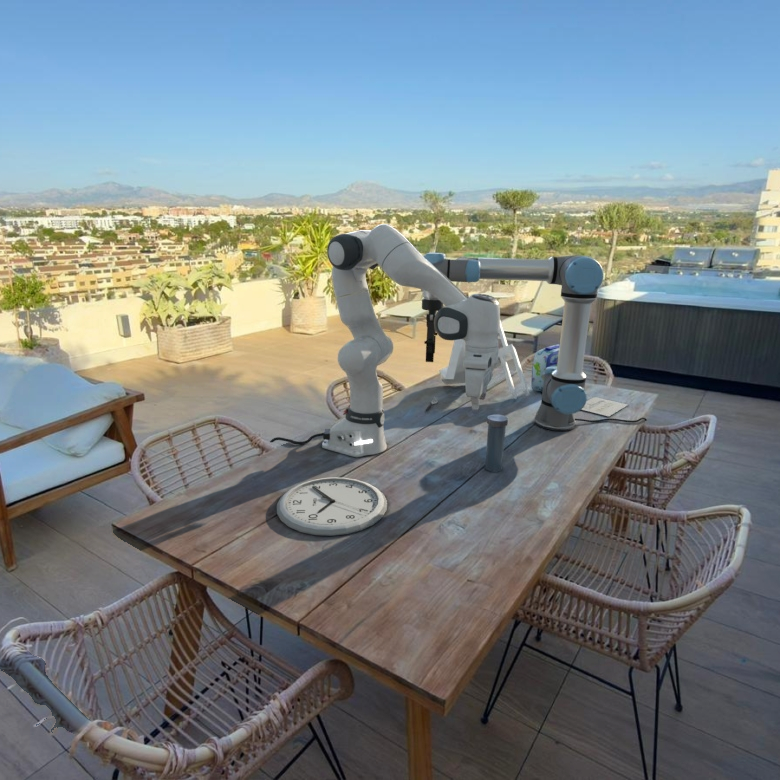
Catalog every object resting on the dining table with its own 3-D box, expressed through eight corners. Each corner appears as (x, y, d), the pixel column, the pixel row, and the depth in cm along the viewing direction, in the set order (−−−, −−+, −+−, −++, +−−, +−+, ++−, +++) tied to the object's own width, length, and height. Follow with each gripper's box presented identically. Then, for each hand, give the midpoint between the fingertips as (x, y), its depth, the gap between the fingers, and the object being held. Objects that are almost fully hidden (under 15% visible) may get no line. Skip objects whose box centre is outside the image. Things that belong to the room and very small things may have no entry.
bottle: (482, 469, 166) (486, 420, 161) (487, 463, 170) (491, 415, 165) (499, 473, 163) (503, 423, 158) (503, 466, 168) (508, 418, 163)
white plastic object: (461, 429, 252) (437, 405, 227) (444, 352, 274) (420, 323, 250) (535, 404, 240) (518, 377, 215) (510, 326, 262) (492, 293, 237)
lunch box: (547, 397, 237) (552, 352, 231) (526, 391, 245) (531, 348, 238) (574, 386, 255) (580, 344, 249) (554, 381, 262) (559, 340, 256)
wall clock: (392, 527, 129) (268, 531, 127) (391, 533, 130) (269, 537, 127) (383, 473, 158) (282, 475, 155) (383, 478, 158) (282, 480, 156)
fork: (422, 411, 216) (422, 407, 215) (433, 400, 230) (433, 396, 230) (428, 412, 215) (429, 407, 215) (438, 401, 230) (439, 396, 229)
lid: (484, 425, 161) (484, 419, 160) (490, 418, 166) (490, 413, 166) (504, 428, 158) (504, 422, 158) (509, 422, 163) (510, 416, 163)
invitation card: (608, 416, 214) (573, 407, 224) (608, 416, 214) (573, 408, 224) (628, 404, 229) (594, 396, 238) (628, 405, 229) (594, 397, 238)
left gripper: (477, 346, 152) (474, 392, 156) (461, 362, 133) (459, 413, 137) (499, 348, 150) (496, 394, 154) (486, 364, 131) (483, 416, 135)
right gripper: (424, 293, 195) (422, 349, 202) (419, 302, 172) (417, 365, 178) (444, 294, 195) (441, 350, 201) (442, 303, 171) (439, 366, 177)
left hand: (478, 403), depth 145 cm, fingers open, 8 cm apart
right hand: (430, 357), depth 190 cm, fingers open, 13 cm apart
